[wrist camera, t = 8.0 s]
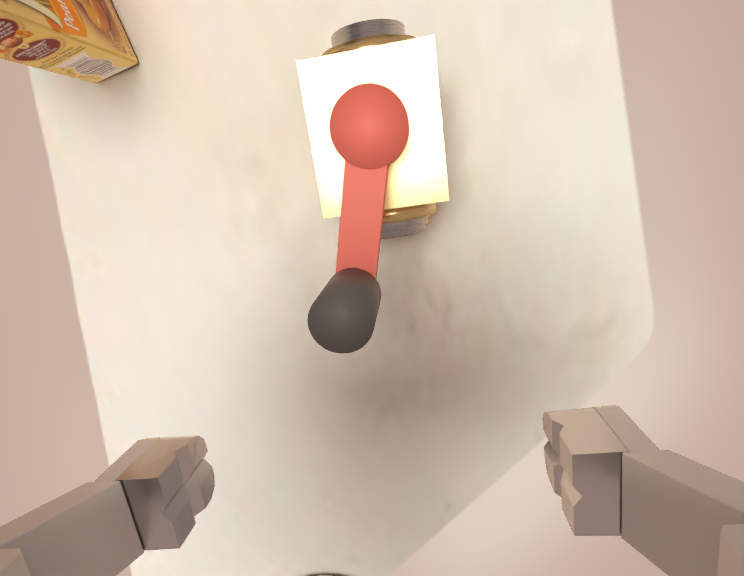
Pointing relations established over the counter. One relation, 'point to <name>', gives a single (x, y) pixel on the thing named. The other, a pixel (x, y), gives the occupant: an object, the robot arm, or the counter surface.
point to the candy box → (65, 37)
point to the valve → (422, 102)
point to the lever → (359, 213)
